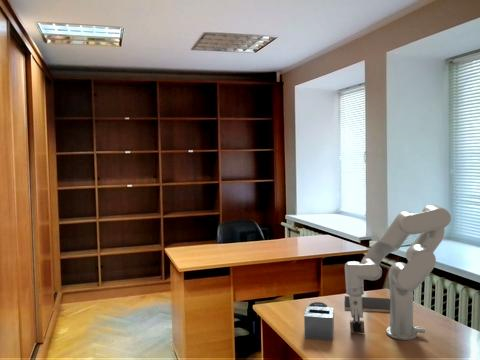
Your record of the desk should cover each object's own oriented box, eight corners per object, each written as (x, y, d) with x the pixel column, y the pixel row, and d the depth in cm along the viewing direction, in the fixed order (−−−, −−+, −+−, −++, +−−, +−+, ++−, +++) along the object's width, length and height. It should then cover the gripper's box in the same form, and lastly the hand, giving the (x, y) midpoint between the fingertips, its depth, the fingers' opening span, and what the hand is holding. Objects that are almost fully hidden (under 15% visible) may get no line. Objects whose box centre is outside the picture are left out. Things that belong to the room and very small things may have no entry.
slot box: (333, 329, 194) (333, 307, 194) (332, 340, 183) (332, 318, 182) (307, 326, 197) (307, 305, 197) (304, 338, 186) (304, 316, 185)
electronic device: (326, 320, 208) (328, 305, 222) (324, 310, 207) (326, 295, 221) (307, 321, 211) (310, 306, 225) (305, 311, 210) (308, 297, 224)
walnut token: (364, 331, 189) (363, 320, 189) (364, 333, 187) (363, 322, 187) (350, 331, 191) (349, 320, 190) (350, 333, 189) (349, 322, 189)
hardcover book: (392, 313, 211) (392, 309, 211) (344, 310, 217) (344, 306, 217) (389, 302, 227) (389, 298, 227) (344, 299, 232) (344, 295, 232)
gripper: (364, 296, 179) (366, 338, 181) (363, 284, 194) (365, 323, 196) (345, 296, 181) (348, 338, 182) (346, 284, 196) (348, 323, 198)
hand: (357, 330), depth 189 cm, fingers closed on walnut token, 1 cm apart
